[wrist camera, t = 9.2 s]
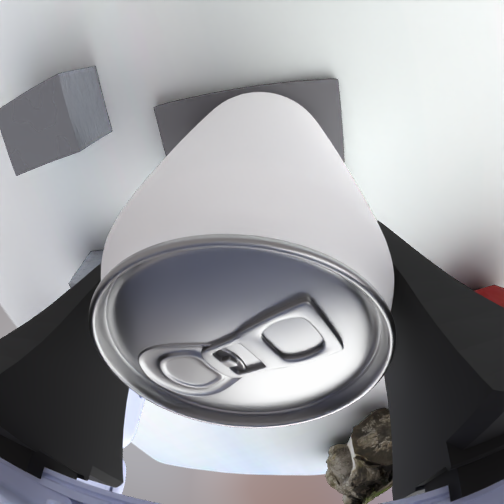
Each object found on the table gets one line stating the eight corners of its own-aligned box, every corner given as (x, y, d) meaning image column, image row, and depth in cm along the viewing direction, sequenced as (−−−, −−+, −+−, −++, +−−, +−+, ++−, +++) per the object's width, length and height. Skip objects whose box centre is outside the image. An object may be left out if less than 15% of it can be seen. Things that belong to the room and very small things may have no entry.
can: (171, 139, 15) (20, 315, 5) (279, 65, 12) (315, 91, 3) (244, 229, 18) (214, 445, 8) (347, 173, 15) (441, 383, 6)
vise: (177, 308, 23) (165, 344, 20) (121, 309, 23) (106, 342, 20) (95, 66, 13) (58, 73, 10) (33, 96, 13) (-5, 111, 11)
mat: (343, 233, 18) (345, 239, 18) (196, 248, 19) (195, 253, 19) (335, 78, 13) (338, 79, 12) (157, 105, 14) (153, 107, 14)
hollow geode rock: (383, 355, 33) (298, 449, 25) (469, 403, 25) (400, 517, 17) (348, 441, 48) (292, 496, 40) (399, 473, 40) (347, 535, 32)
